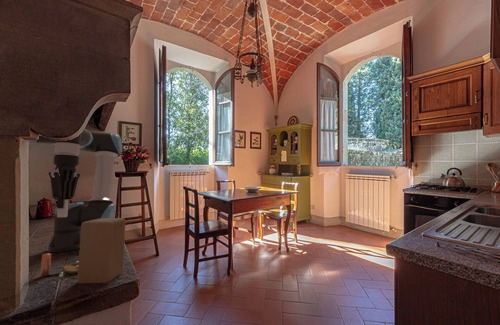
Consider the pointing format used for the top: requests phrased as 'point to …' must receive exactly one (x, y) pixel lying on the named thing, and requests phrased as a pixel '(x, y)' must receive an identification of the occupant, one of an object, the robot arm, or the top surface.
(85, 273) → the wooden block
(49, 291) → the top surface
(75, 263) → the crank handle
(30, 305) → the top surface
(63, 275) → the level base
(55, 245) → the robot arm
